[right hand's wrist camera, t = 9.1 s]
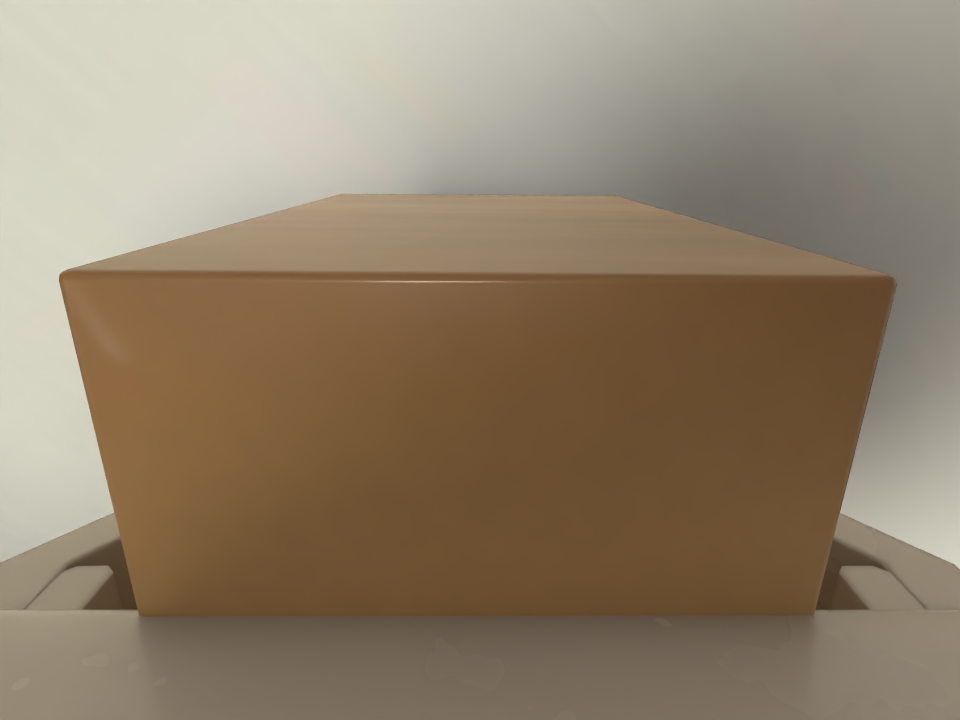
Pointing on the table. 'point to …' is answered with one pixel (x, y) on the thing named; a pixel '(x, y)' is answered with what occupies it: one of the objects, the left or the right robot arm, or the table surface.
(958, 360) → the table surface
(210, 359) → the bar
